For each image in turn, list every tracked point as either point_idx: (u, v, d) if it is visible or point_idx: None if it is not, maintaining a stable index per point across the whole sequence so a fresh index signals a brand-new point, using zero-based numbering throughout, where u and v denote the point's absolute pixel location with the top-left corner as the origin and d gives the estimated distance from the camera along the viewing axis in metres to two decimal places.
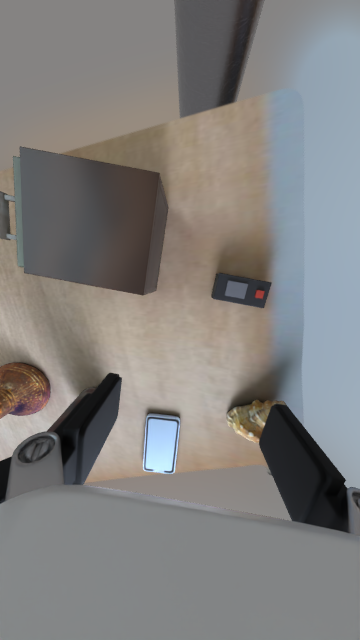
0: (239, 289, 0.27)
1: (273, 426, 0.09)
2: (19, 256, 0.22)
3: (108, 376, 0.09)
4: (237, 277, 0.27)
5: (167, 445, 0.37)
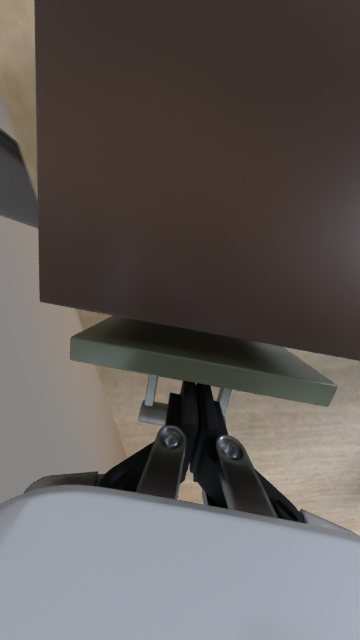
0: None
1: None
2: (306, 398, 0.08)
3: None
4: None
5: None
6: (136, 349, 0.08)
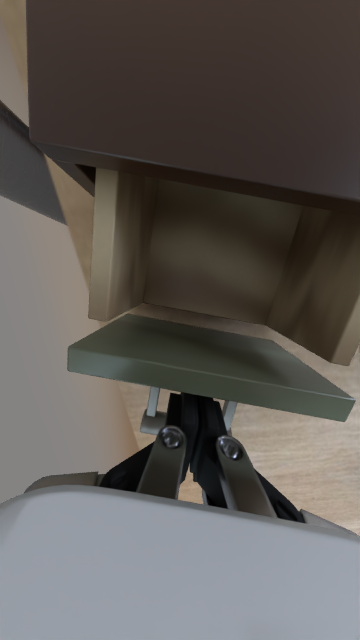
0: None
1: None
2: (320, 412, 0.07)
3: None
4: None
5: None
6: (137, 359, 0.07)
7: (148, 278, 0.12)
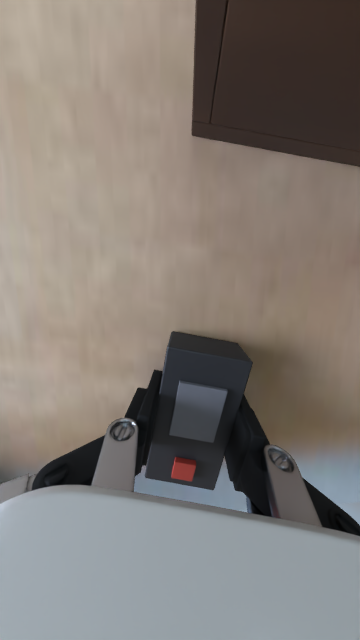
0: (198, 422, 0.09)
1: None
2: None
3: (155, 372, 0.10)
4: (234, 413, 0.09)
5: None
6: None
7: None
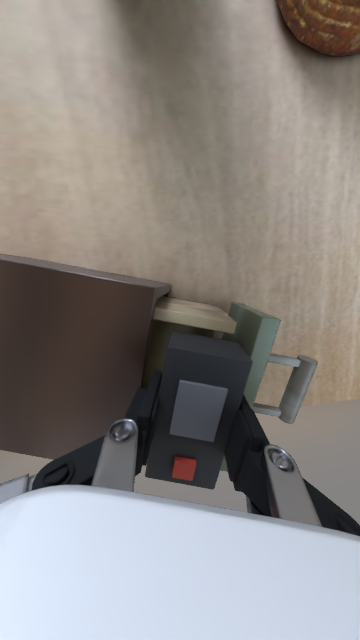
0: (198, 421, 0.09)
1: None
2: (271, 337, 0.11)
3: (155, 372, 0.10)
4: (234, 412, 0.09)
5: None
6: None
7: None
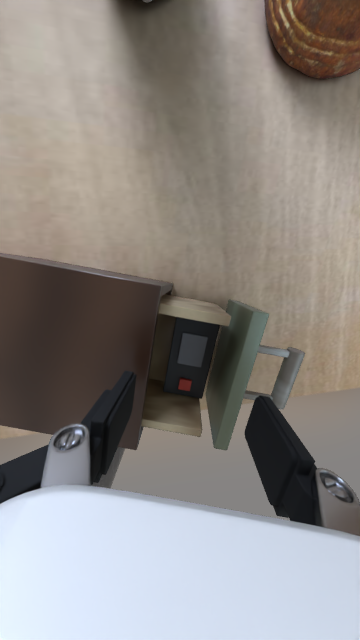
0: (192, 355, 0.17)
1: (256, 416, 0.10)
2: (260, 329, 0.12)
3: (124, 373, 0.10)
4: (211, 350, 0.17)
5: None
6: (221, 419, 0.14)
7: None
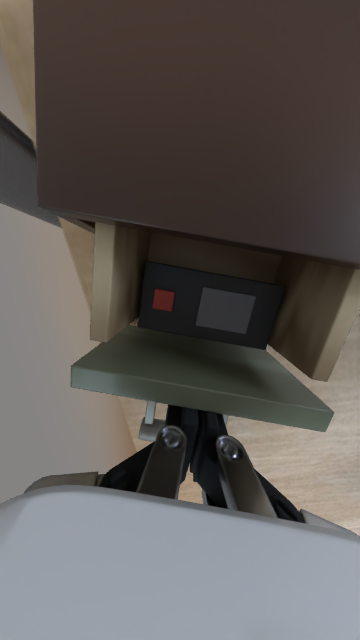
0: (216, 312, 0.10)
1: None
2: (302, 423, 0.08)
3: None
4: (221, 339, 0.11)
5: None
6: (135, 377, 0.08)
7: None
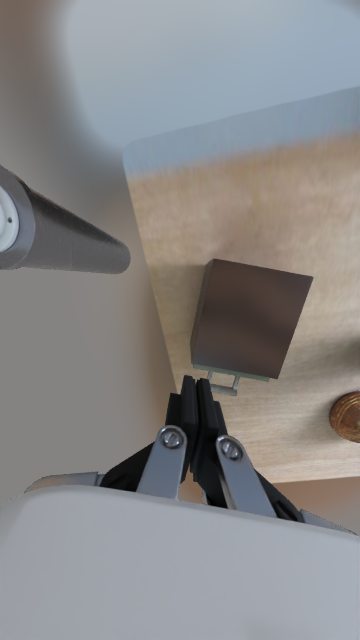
0: None
1: None
2: (261, 379, 0.27)
3: (186, 378, 0.11)
4: None
5: None
6: None
7: None
